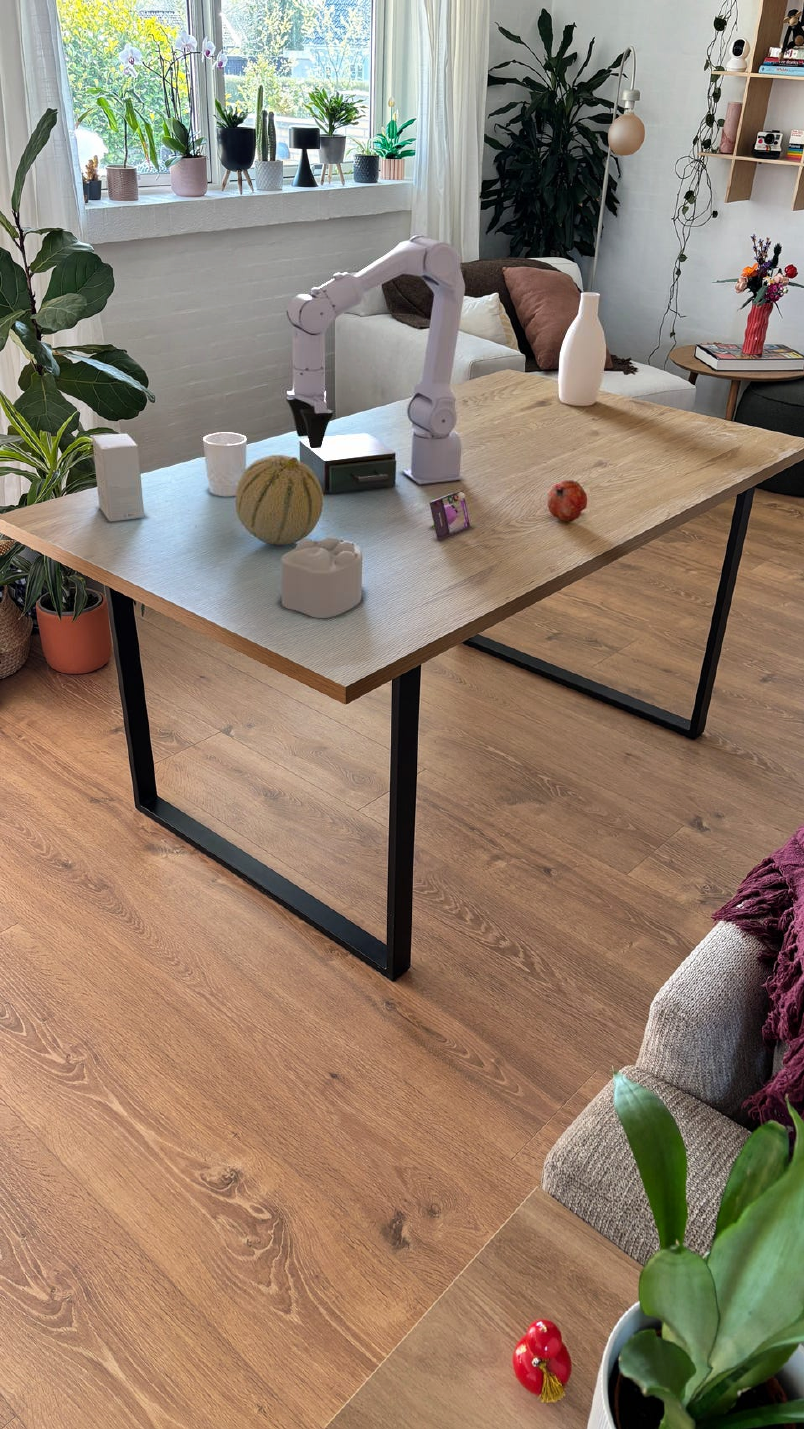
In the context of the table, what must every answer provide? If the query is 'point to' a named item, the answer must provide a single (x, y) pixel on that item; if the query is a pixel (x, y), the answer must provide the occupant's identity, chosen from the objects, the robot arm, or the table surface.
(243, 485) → the cantaloupe
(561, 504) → the pomegranate
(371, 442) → the cabinet
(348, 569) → the lumpy-topped squat cylinder
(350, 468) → the drawer
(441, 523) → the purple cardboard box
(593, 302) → the bottle
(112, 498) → the small box
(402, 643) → the table surface
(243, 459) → the white cup
